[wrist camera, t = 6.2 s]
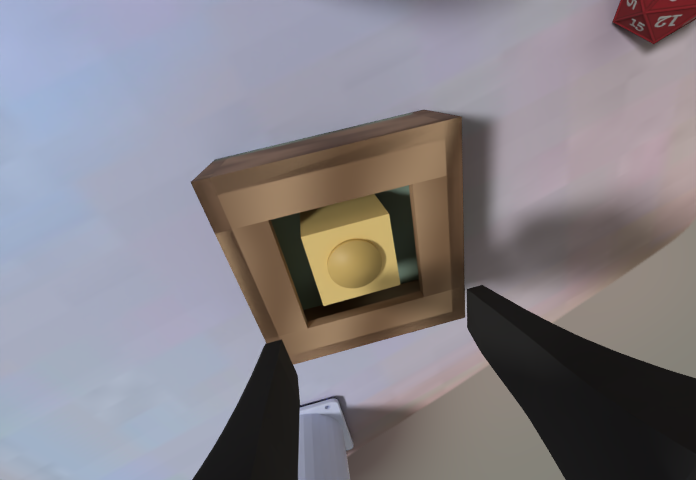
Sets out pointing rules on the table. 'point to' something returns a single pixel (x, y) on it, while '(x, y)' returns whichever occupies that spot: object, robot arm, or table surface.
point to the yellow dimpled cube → (350, 248)
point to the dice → (654, 17)
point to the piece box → (334, 187)
